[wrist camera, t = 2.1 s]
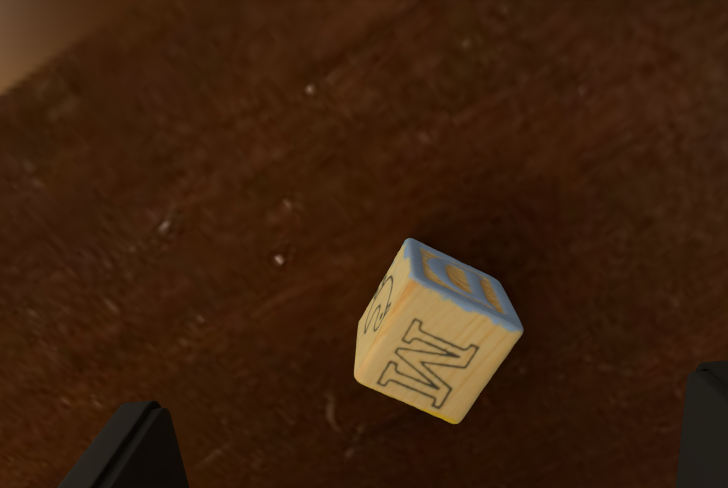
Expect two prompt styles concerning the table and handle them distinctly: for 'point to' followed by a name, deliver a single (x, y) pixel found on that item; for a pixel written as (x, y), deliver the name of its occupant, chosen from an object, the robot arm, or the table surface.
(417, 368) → the alphabet block
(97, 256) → the table surface
